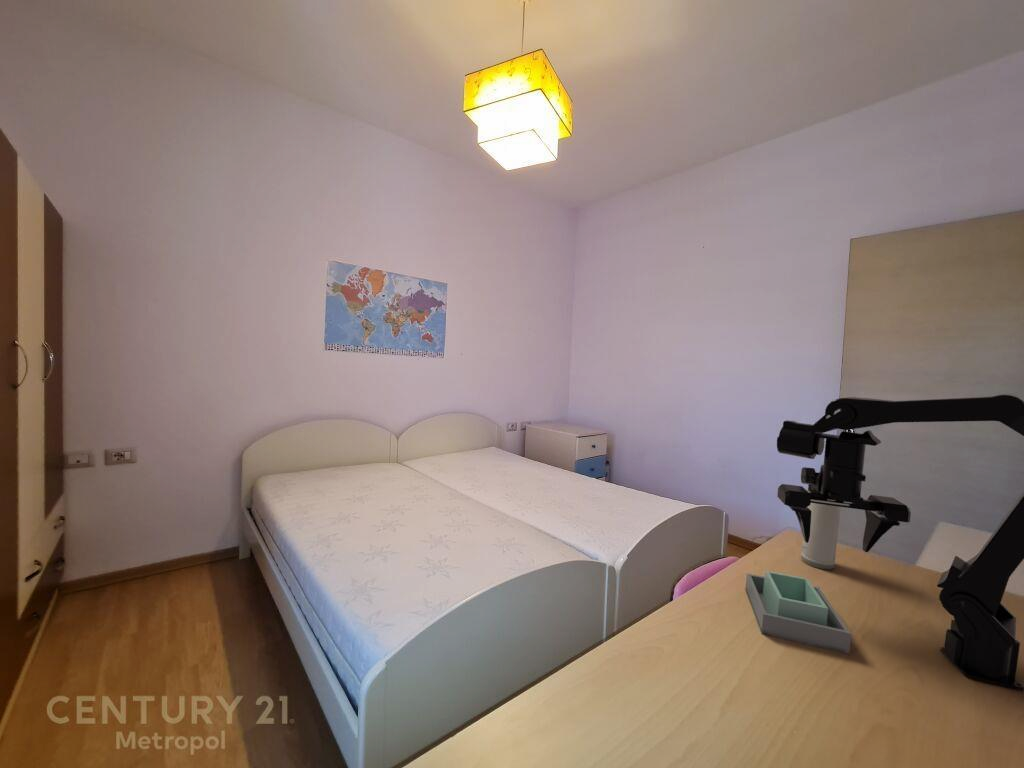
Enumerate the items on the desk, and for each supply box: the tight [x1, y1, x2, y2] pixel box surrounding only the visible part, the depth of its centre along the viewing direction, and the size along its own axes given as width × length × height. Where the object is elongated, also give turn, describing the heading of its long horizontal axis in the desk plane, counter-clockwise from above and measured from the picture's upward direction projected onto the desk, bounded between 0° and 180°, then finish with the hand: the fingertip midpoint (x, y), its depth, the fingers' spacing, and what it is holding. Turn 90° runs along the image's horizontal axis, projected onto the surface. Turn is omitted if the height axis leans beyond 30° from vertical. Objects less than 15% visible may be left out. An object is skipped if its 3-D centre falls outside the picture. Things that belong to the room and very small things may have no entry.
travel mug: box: [800, 484, 841, 571], centre depth 94 cm, size 6×7×20 cm
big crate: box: [744, 573, 852, 655], centre depth 74 cm, size 12×14×3 cm
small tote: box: [763, 570, 828, 626], centre depth 74 cm, size 10×7×5 cm
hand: (835, 546), depth 77 cm, fingers open, 9 cm apart
